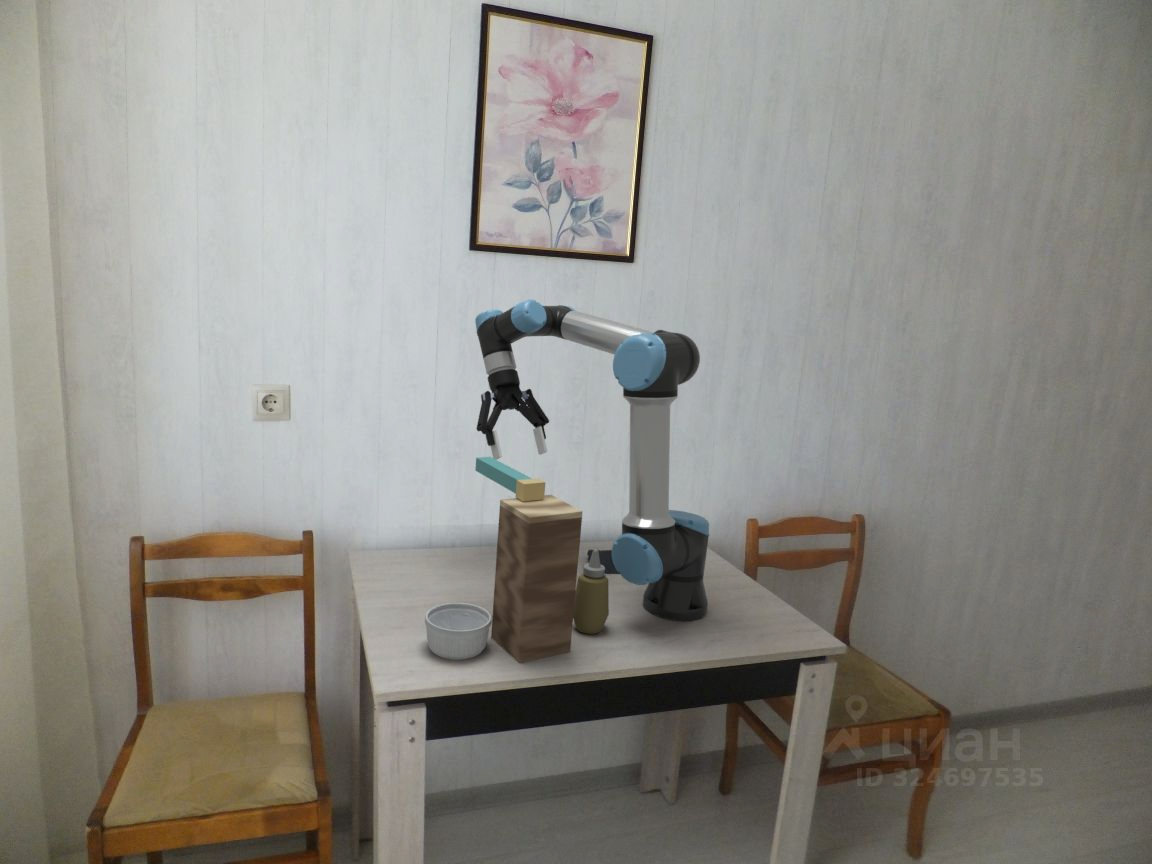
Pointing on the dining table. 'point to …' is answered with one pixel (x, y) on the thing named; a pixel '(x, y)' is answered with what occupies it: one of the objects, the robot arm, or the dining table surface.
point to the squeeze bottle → (591, 597)
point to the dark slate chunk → (605, 561)
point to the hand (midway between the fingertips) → (521, 455)
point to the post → (535, 577)
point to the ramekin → (457, 630)
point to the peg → (511, 479)
